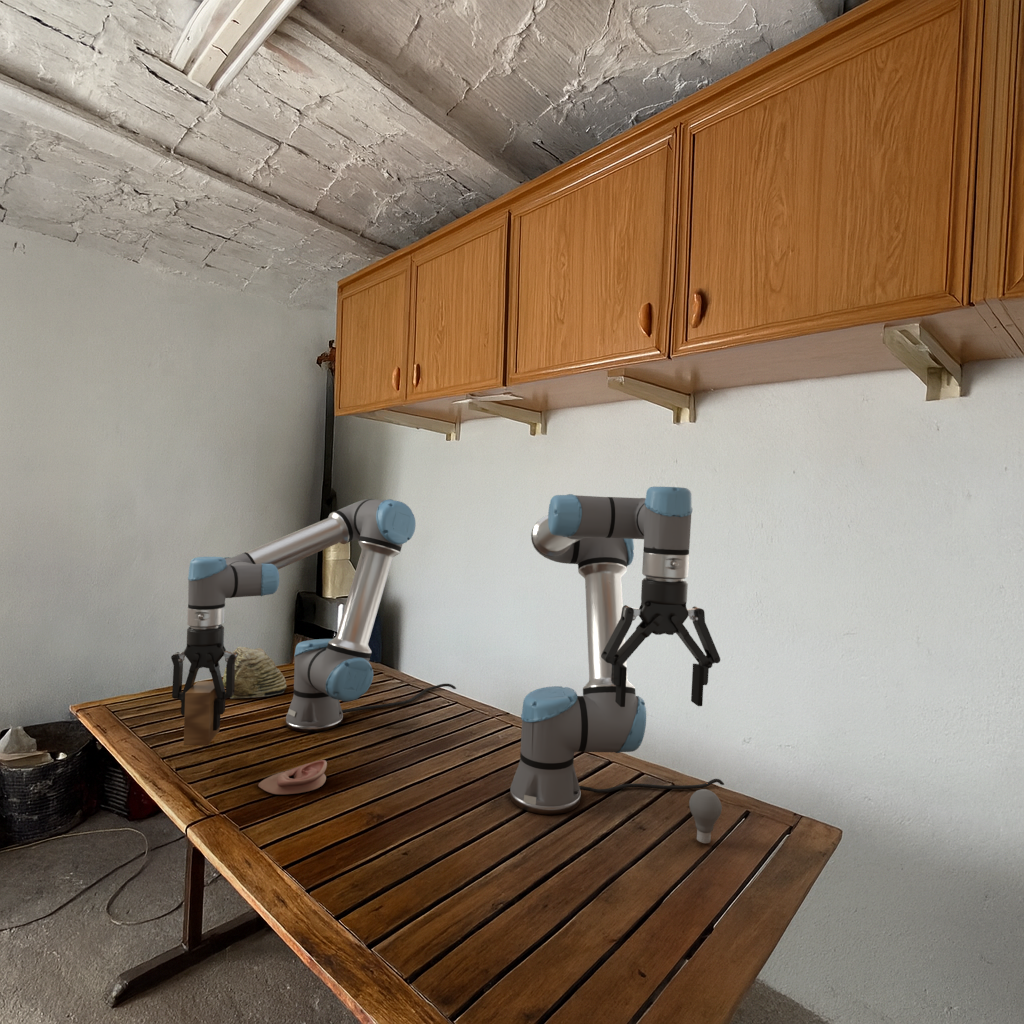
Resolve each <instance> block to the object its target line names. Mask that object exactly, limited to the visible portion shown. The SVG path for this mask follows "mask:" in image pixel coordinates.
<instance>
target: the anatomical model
mask: <svg viewBox="0 0 1024 1024" xmlns="http://www.w3.org/2000/svg"><path fill="white" fill-rule="evenodd" d="M327 768H328V763H327V760H325V759H320V760H315V761H312V762H308V763H305V764H302V765H299V766H297V767H294V768H291V769H288V770H286V771H281V772H278V773H275V774H273V775H270V776H267V777H266V778H264V779H263V780H261V781H260V782H259V783H258V784H257V786H258V787H259V788H260V789H261V790H263V791H264V792H267V793H269V794H271V795H295V794H301V793H306V792H307V793H308V792H310V791H315V790H317V789H319V788H320V787H322V786H323V785H324V784H325V783H326V780H327V776H326V774H325V772H326V770H327Z"/></svg>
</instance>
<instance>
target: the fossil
mask: <svg viewBox="0 0 1024 1024" xmlns="http://www.w3.org/2000/svg"><path fill="white" fill-rule="evenodd" d="M234 652H237V654H238V656H237V658H236V661H235V692H234V694H233V695H232V697H231V698H230V699H250V698H264V697H271V696H275V695H281V694H284V693H285V691H286V689H287V687H288V686H287V680H286V678H285V676H284V674H283V673H282V672H281V669H279V668H278V667H277V665H276V663H275V662H274V660H273V659H272V658H271V657H270V656H269V655H268V654H267V653H266V652H265V650H264V649H263V648H260V647H258V648H251V647H247V646H246V647H245V646H238V647H237V648H236V649H235V650H233V651H232V653H234ZM222 676H223V677H222V680H223V684H224V688H225V689H226V667H225V668H224V671H223V675H222Z"/></svg>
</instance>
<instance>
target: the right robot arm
mask: <svg viewBox="0 0 1024 1024" xmlns="http://www.w3.org/2000/svg"><path fill="white" fill-rule="evenodd" d="M692 503H693V500H692V492H691V490H690V489H689V488H687V487H681V486H680V487H678V486H677V487H676V486H650V487H648V488H647V490H646V494H645V497H620V496H597V495H596V496H594V495H593V496H592V495H579V494H578V495H577V494H572V493H569V494H556V495H553V496H552V497H551V498H550V501H549V505H548V515H545V516H542V517H541V518H540V519H538V521H536V523H534V525H533V526H532V529H531V533H530V536H531V537H530V538H531V544H532V547H533V548H534V549H535V551H536V552H537V553H538V554H539V555H541V556H542V557H543V558H544V559H545V558H546V559H547V560H550V561H553V562H555V563H559V564H568V565H577V571H578V572H577V573H578V574H579V575H580V576H581V577H582V578H583V579H584V586H585V611H586V635H587V637H586V638H587V659H588V660H587V661H588V682H587V683H586V684H585V685H584V686H583V687H582V695H578V694H577V691H576V690H575V689H573V688H571V687H568V686H564V687H563V686H561V685H560V686H559V685H557V686H556V685H555V686H553V685H552V686H544V687H541V688H537V689H534V690H532V691H530V692H529V693H527V694H526V696H524V698H523V702H522V708H521V709H522V710H521V715H520V719H521V736H520V751H519V752H520V753H519V755H520V756H519V763H518V765H517V768H516V770H515V773H514V776H513V779H512V781H511V784H510V792H509V797H510V800H511V802H512V803H513V804H514V805H515V806H517V807H518V808H520V809H522V810H524V811H527V812H529V813H533V814H538V815H549V816H550V815H561V814H566V813H569V812H571V811H574V810H575V809H576V808H578V807H579V806H580V804H581V797H582V796H581V795H582V793H581V791H586V792H592V793H596V794H607V793H611V792H615V791H619V790H622V789H629V788H643V789H657V790H694V789H695V790H698V789H705V788H707V787H709V786H711V785H713V784H716V783H718V784H719V785H721V786H724V785H725V783H724V781H723V780H721V779H720V778H713V779H711V780H709V781H707V782H705V783H701V784H700V783H699V784H689V785H688V784H687V785H686V784H685V785H667V784H665V785H664V784H651V783H624V784H619V785H616V786H613V787H609V788H593V787H591V786H584V785H580V784H579V780H578V775H577V772H576V769H575V765H574V764H575V763H574V761H575V753H615V754H620V753H632V752H635V751H637V750H638V749H639V748H640V746H641V745H642V743H643V740H644V737H645V733H646V727H647V708H646V702H645V700H644V698H643V697H642V696H639V695H637V694H636V687H635V685H633V683H631V682H630V681H629V679H628V665H627V663H628V662H627V660H628V659H630V657H632V655H633V654H634V652H635V651H636V650H637V649H638V648H639V646H640V645H642V643H643V642H644V641H645V640H646V639H648V638H649V637H650V636H651V635H652V634H653V635H655V636H657V635H658V636H661V635H668V636H674V634H676V635H677V637H678V638H679V639H680V640H681V642H682V643H683V644H684V645H685V647H686V648H687V650H688V652H690V653H691V655H692V656H693V658H694V659H695V660H696V661H697V663H692V673H691V693H690V695H691V696H690V702H691V703H693V704H694V705H695V706H697V707H703V702H704V701H703V700H704V686H707V685H708V683H709V671H710V669H711V668H712V667H713V665H714V664H719V663H720V662H721V657H720V654H719V652H718V650H717V647H716V645H715V643H714V640H713V637H712V635H711V633H710V631H709V629H708V625H707V623H706V613H705V609H703V608H701V607H698V606H696V605H695V606H692V608H687V602H688V590H689V589H688V588H689V587H688V585H689V583H688V582H687V581H686V580H685V579H687V578H688V577H689V567H690V566H689V565H690V564H689V563H690V545H691V544H690V543H691V529H692V527H691V525H692V513H693V504H692ZM634 540H643V551H642V552H643V553H642V554H643V555H642V569H641V574H642V575H643V576H644V578H643V579H642V580H641V593H640V606H639V607H632V606H631V607H630V606H629V605H626V604H624V603H623V602H624V601H623V587H622V586H623V585H622V577H623V576H624V575H625V574H626V573H627V571H628V567H629V566H630V565H632V563H633V561H634V554H635V553H634V550H635V544H634V543H635V542H634ZM637 617H639V618H640V620H641V622H639V624H638V625H637V626H636V627H635V630H634V631H633V633H632V634H631V635H630V636H629V637H628V638H627V639H626V636H627V633H628V632H629V630H630V628H631V626H632V624H633V621H635V620H636V619H637ZM688 618H689V620H690V621H692V625H693V628H694V629H695V632H696V634H697V636H698V639H699V641H700V644H701V645H702V648H703V650H702V649H701V647H700V646H699V645H698V644H697V642H696V641H695V639H694V638H693V637H692V636H691V634H690V631H689V630H688V629H687V627H686V626H685V625H684V623H685V622H686V620H687V619H688ZM706 783H708V784H706Z"/></svg>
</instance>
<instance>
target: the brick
mask: <svg viewBox="0 0 1024 1024" xmlns="http://www.w3.org/2000/svg"><path fill="white" fill-rule="evenodd" d="M216 699H217V695H216V691H215V687H214V683H213V680H212V681H211V680H209V681H208V680H200V681H199V680H198V681H197V682H196V683H194V685H193V686H192V687H191V688H190V689H189V690H188V691H187V692H186V693H185V715H184V720H183V721H184V722H183V746H208V745H210V743H211V742H212V741H213V740H214V738H215V737H216V736H217V734H218V733H219V732H220V730H221V726H220V727H219V728H218V729H217V730H216V731H213V715H214V701H215V700H216Z"/></svg>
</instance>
